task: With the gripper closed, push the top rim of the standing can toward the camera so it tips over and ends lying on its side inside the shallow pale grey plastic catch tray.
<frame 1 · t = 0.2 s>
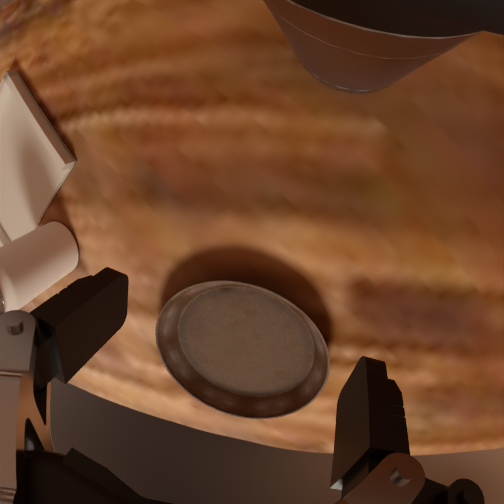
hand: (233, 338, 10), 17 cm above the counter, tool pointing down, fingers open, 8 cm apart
can: (62, 245, 34), on the counter
plant saucer: (245, 342, 33), on the counter
catch tray: (12, 170, 32), on the counter
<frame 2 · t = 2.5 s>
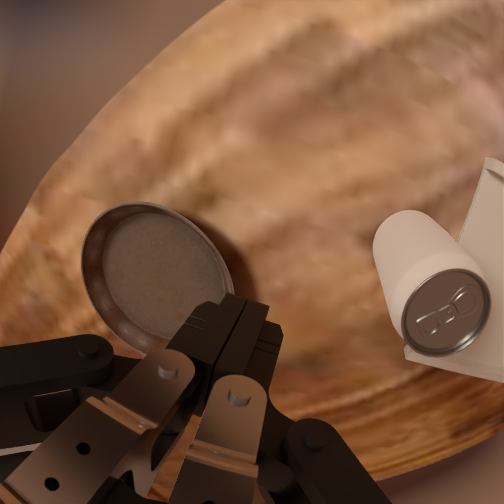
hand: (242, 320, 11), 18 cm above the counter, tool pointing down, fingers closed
can: (406, 244, 26), on the counter
plant saucer: (162, 278, 33), on the counter
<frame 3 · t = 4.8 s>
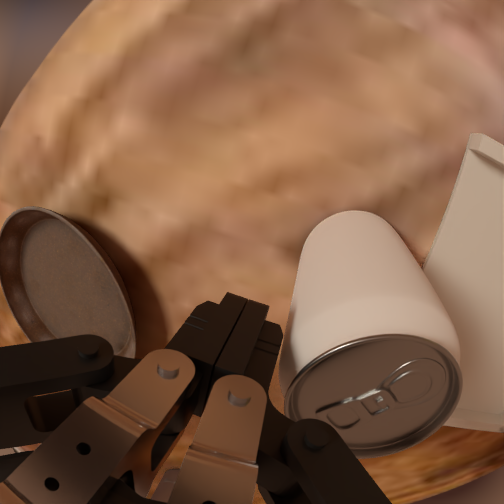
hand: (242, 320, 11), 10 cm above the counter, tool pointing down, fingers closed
can: (352, 258, 19), on the counter, touching gripper
plant saucer: (74, 290, 27), on the counter
catch tray: (503, 314, 18), on the counter
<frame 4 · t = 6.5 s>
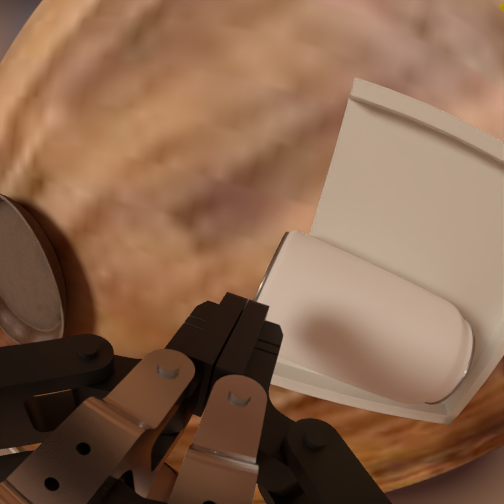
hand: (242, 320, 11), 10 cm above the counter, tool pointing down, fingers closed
can: (260, 280, 17), point 3 cm above the counter, touching catch tray
plant saucer: (24, 267, 28), on the counter
catch tray: (425, 284, 19), on the counter
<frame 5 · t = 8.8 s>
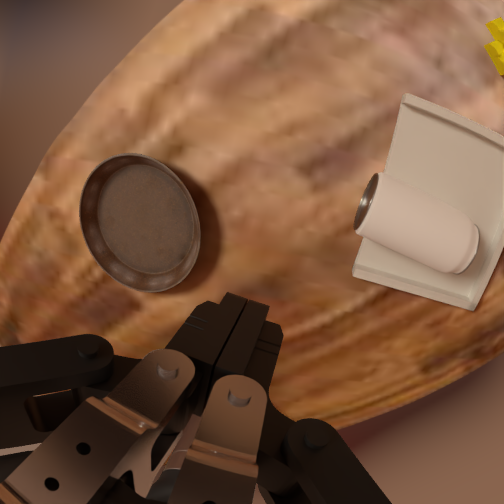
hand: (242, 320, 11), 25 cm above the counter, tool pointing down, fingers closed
can: (363, 200, 29), point 3 cm above the counter, touching catch tray
plant saucer: (145, 219, 40), on the counter
catch tray: (447, 208, 30), on the counter
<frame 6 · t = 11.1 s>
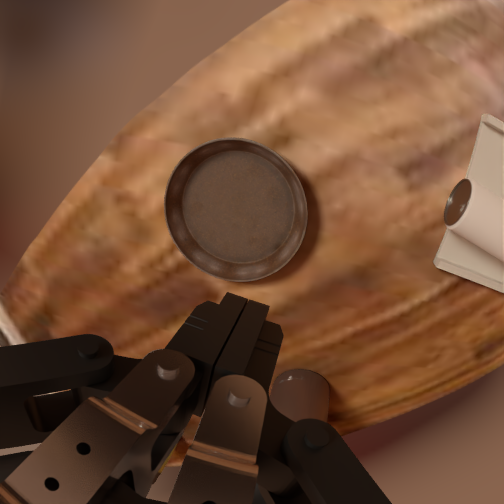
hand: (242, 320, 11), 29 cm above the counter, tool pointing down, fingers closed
can: (455, 200, 30), point 3 cm above the counter, touching catch tray
plant saucer: (238, 207, 41), on the counter
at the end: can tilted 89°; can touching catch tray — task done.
